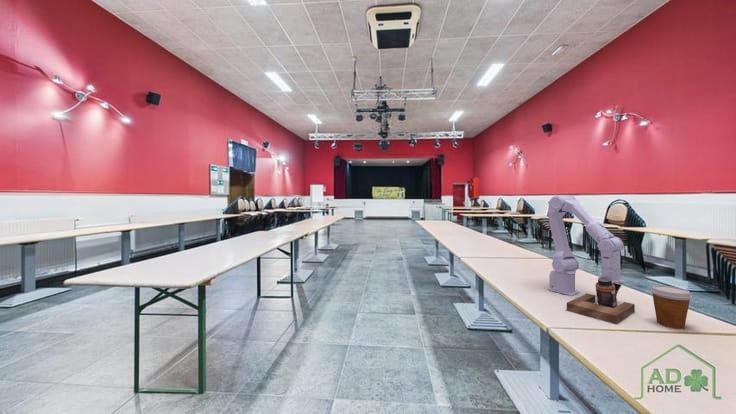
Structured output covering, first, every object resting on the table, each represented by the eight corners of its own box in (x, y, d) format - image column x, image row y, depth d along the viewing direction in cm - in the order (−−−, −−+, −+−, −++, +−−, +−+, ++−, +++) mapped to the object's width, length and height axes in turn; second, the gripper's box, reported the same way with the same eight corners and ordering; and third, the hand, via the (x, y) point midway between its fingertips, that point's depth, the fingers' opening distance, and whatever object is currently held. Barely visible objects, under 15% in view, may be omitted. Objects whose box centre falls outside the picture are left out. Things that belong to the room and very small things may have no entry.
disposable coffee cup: (701, 331, 89) (701, 293, 89) (670, 331, 90) (671, 294, 89) (669, 318, 99) (670, 284, 99) (642, 318, 99) (642, 285, 99)
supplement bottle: (621, 308, 107) (618, 281, 105) (603, 310, 108) (600, 283, 106) (611, 300, 112) (608, 274, 110) (594, 301, 114) (591, 276, 112)
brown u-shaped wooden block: (566, 310, 108) (566, 302, 108) (586, 300, 118) (586, 293, 118) (616, 324, 95) (616, 315, 95) (634, 312, 105) (634, 304, 105)
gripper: (616, 272, 104) (617, 308, 104) (630, 266, 112) (630, 300, 112) (593, 269, 110) (594, 303, 110) (608, 263, 118) (608, 295, 118)
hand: (611, 301), depth 112 cm, fingers closed, pressing on supplement bottle
